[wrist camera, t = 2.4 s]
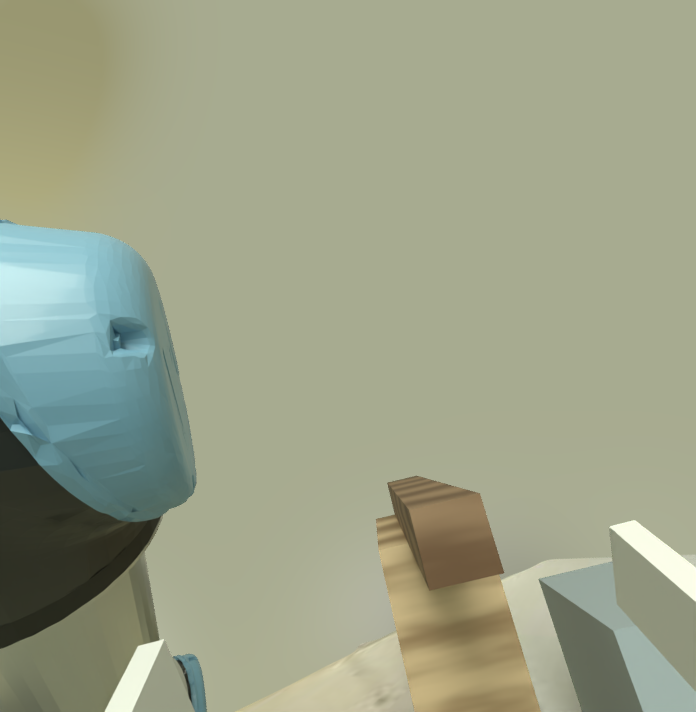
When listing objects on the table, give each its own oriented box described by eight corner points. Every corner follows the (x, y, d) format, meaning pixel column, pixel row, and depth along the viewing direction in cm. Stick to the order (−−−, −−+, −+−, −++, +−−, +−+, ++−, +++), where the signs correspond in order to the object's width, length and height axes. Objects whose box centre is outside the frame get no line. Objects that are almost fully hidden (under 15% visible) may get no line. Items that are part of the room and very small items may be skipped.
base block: (875, 948, 24) (721, 604, 30) (741, 980, 24) (613, 630, 30) (696, 775, 38) (613, 561, 43) (610, 796, 38) (538, 578, 43)
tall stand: (644, 1055, 22) (484, 525, 31) (499, 1089, 22) (378, 550, 31) (526, 797, 40) (443, 503, 48) (443, 817, 40) (376, 519, 48)
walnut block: (504, 573, 19) (479, 493, 21) (429, 590, 19) (409, 510, 20) (425, 507, 48) (416, 475, 49) (395, 514, 48) (387, 482, 49)
